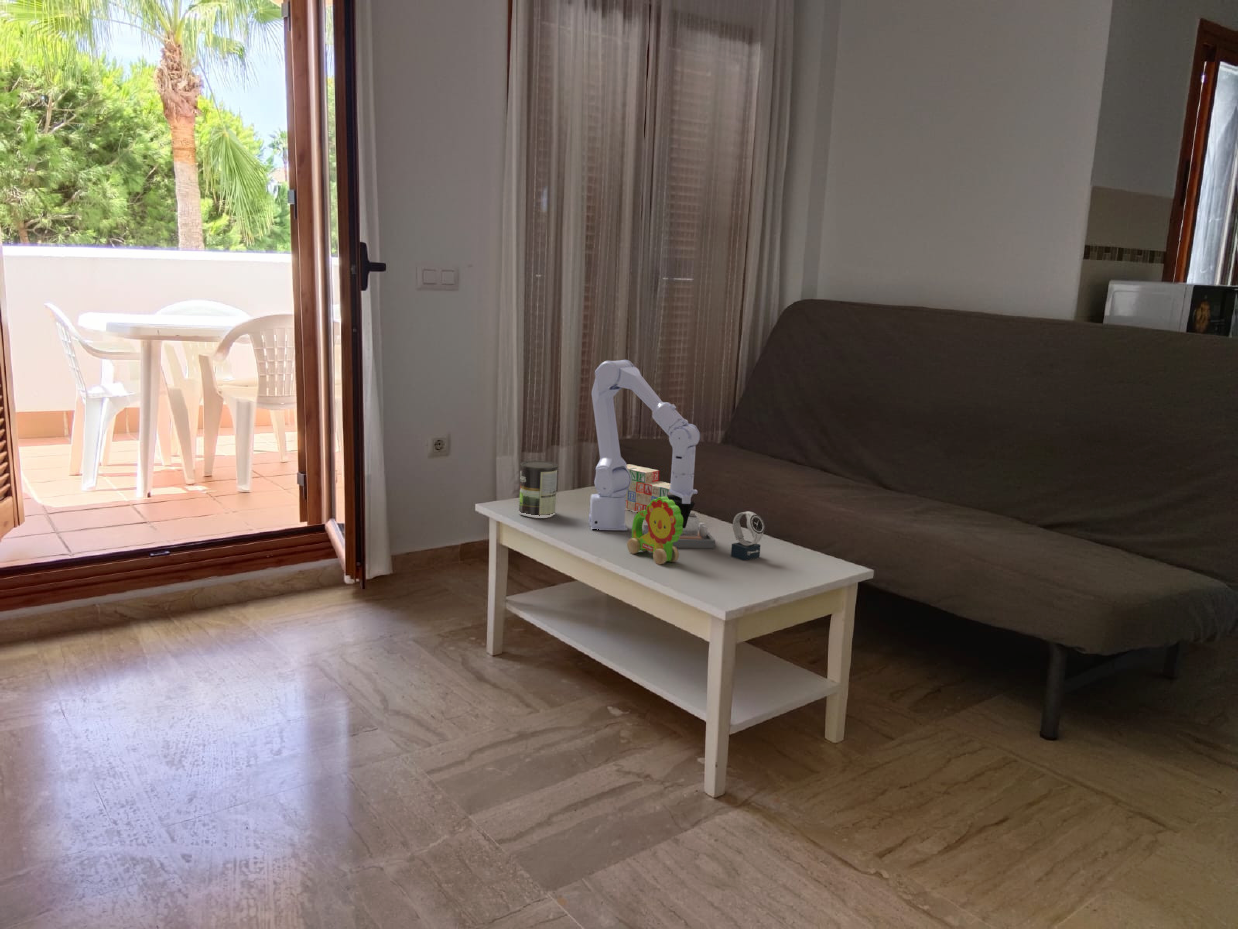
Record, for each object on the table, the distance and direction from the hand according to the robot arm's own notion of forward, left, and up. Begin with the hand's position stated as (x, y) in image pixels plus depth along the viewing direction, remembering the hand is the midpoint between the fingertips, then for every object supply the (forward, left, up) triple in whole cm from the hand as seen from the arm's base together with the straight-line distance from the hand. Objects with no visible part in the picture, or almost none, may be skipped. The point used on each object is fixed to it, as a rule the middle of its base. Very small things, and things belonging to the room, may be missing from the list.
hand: (679, 525), depth 233 cm
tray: (0, 0, -4) cm, 4 cm away
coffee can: (-35, +25, -4) cm, 43 cm away
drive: (0, 0, -2) cm, 2 cm away
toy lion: (-9, -17, -4) cm, 19 cm away
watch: (+14, -14, -4) cm, 20 cm away
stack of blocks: (-4, +31, -4) cm, 31 cm away
